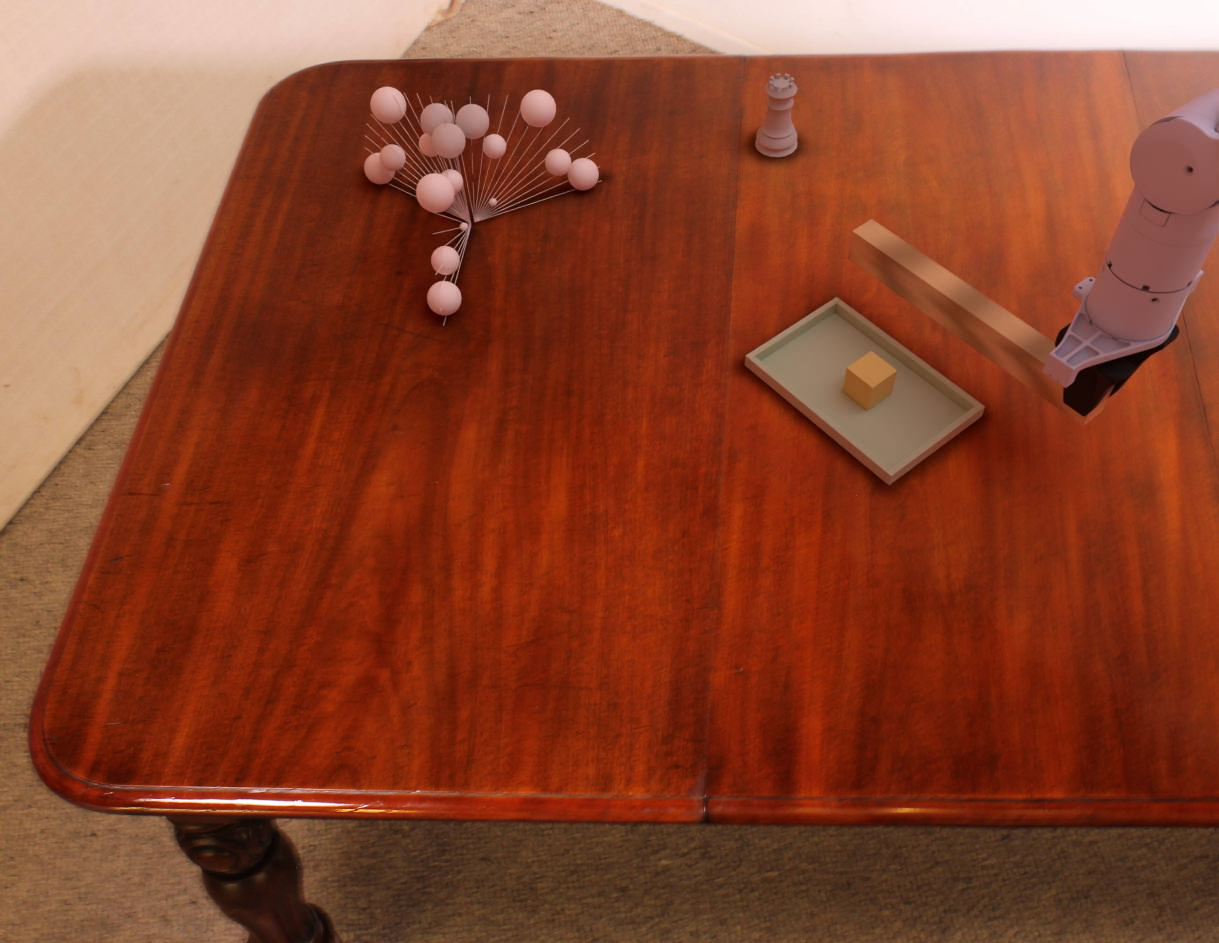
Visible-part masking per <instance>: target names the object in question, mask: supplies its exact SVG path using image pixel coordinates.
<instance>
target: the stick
mask: <svg viewBox="0 0 1219 943" xmlns="http://www.w3.org/2000/svg"><path fill="white" fill-rule="evenodd" d="M848 249H849V250H848V254H847V260H848V261H850V262H852V263H853V264H854V265H856V266H857V267H859V268H860V269H861V270H863V271H864V272H866V273H867V274H868V275H870V276H871V277H872V278H874V279H876V280H877V281H878V282H880V283H881V284H882V285H883V286H885V287H887V288H888V289H889V290H891V291H892V292H894V293H895V294H896V295H898V296H900V297H901V298H902V299H903V300H905V301H906V302H908V303H909V304H911V305H912V306H913V307H915V308H916V309H917V310H919V311H920V312H921V313H923V314H925V315H926V316H928V318H930V319H931V320H933V321H934V322H936V323H937V324H939V325H940V326H941V327H943V328H944V329H946V330H947V331H949V332H950V333H952V334H953V335H954V336H956V337H957V338H958V339H959V340H961V341H962V342H963V343H965V344H967V345H968V346H969V347H971V348H972V349H974V350H975V351H976V352H978V353H979V354H980V355H982V356H984V357H985V358H986V359H988V360H989V361H990V362H992V363H993V364H995V365H996V366H998V367H999V368H1001V369H1002V370H1003V371H1004V372H1006V373H1008V374H1009V375H1010V376H1012V377H1013V378H1014V379H1016V380H1017V381H1019V382H1020V383H1022V384H1023V385H1024V386H1025V387H1027V388H1029V389H1030V390H1031V391H1033V392H1034V393H1036V395H1038V396H1040V397H1041V398H1042V399H1044V400H1045V401H1046V402H1048V403H1049V404H1051V405H1052V406H1053V407H1055V408H1056V409H1058V410H1059V411H1060V412H1062V413H1064V414H1065V415H1066V416H1068V417H1069V418H1070V419H1072V420H1074V421H1075V422H1076V423H1078V424H1079V425H1080V426H1082V427H1084V426H1085V425H1086V424H1088V423H1090V421H1091V420H1093V419H1094V418H1095V417H1096V416H1098V415H1099V414H1101V413H1102V412H1103V410H1104V408H1105V406H1106V405H1107V402H1108V400H1109V399H1110V397H1109V396H1110V394H1111V392H1112V390H1113V388H1114V386H1115V385H1113V386H1112V387H1111V388H1110V390H1109V391H1108V392H1107V394H1106V395H1105V396H1104V398H1103V399H1102V401H1101V402H1100V403H1099V405H1098V406H1097V407H1096V408H1095V409H1094V410H1093V411H1091V412H1090V413H1089V414H1088V415H1086V416H1085V417H1084V416H1082V415H1080V414H1079V413H1077V412H1076V411H1074V410H1073V409H1072V408H1070V407H1069V406H1067V405H1066V404H1065V403H1063V386H1062V385H1060V384H1059V383H1057V382H1056V381H1054V380H1053V379H1051V378H1050V377H1049V376H1047V375H1046V374H1045V373H1043V372H1042V371H1043V368H1044V366H1045V363H1046V361H1047V359H1048V356H1049V354H1050V352H1052V351H1053V350H1054V349H1055V348H1056V347H1055V341H1053V340H1051V339H1050V338H1049V337H1047V336H1046V335H1045V334H1043V333H1041V332H1040V331H1038V330H1036V329H1035V328H1034V327H1032V326H1031V325H1029V324H1028V323H1026V322H1025V321H1023V320H1022V319H1021V318H1019V317H1018V316H1016V315H1015V314H1014V313H1012V312H1010V311H1008V310H1007V309H1005V308H1004V307H1002V306H1001V305H1000V304H998V303H997V302H995V301H994V300H993V299H991V298H989V297H988V296H987V295H985V294H984V293H982V292H980V291H979V290H977V288H975V287H973V286H972V285H970V284H969V283H967V282H965V280H963V279H961V278H960V277H958V276H957V275H956V274H954V273H953V272H951V271H950V270H948V269H947V268H945V267H943V266H942V265H941V264H939V263H938V262H936V261H934V260H933V259H932V258H930V257H929V256H927V255H926V254H925V253H923V252H921V251H920V250H918V249H917V248H916V247H914V246H913V245H911V244H909V242H907V241H905V240H904V239H903V238H901V237H899V236H898V235H896V234H895V233H893V232H892V231H890V230H889V229H888V228H886V227H885V226H883V225H881V223H878V222H877V221H875V220H874V219H873V218H871V219H869V220H867V221H866V222H864V223H862V224H861V225H858V226H857V227H856V228H854V229H852V231H851V235H850V242H849V247H848Z"/></svg>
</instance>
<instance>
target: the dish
mask: <svg viewBox="0 0 1219 943" xmlns="http://www.w3.org/2000/svg"><path fill="white" fill-rule="evenodd" d="M871 351H872V352H874V353H875V354H876V355H878V356H879V357H880V358H882V359H883V360H884V361H886V362H887V363H888V364H889V365H891V366H892V367H893V368H895V369H896V370H897V374H896V379H895V383H894V387H893V391H892V394H891V395H889V396H888V397H886V398H885V399H884V400H882V401H881V402H879V403H878V404H877V405H875V406H874V407H872V408H871V409H869V410H868V411H867V410H866V409H865V408H863V407H862V406H861V405H859V404H858V403H857V402H856V401H854V400H853V399H852V398H851V397H849V396H848V395H847V394H846V393H844V392H843V391H842V390H843V385H844V379H845V374H846V369H847V367H848V366H850V365H851V364H853V363H854V362H856V361H857V360H859V359H860V358H862V357H863V356H865V355H866V354H868V353H869V352H871ZM744 366H745V367H746V368H747V369H748V370H749V371H751V372H752V373H753V374H754V375H756V377H758V378H759V379H761V380H762V381H763V382H764V383H765V384H766V385H767V386H768V387H770V388H771V389H772V390H774V391H775V392H776V393H777V394H778V395H780V396H781V397H782V398H783V399H784V400H786V401H787V402H788V403H789V404H791V405H792V407H794V408H795V409H796V410H798V411H799V412H800V413H801V414H802V415H804V416H805V417H806V418H807V419H809V421H811V422H812V423H813V424H814V425H815V426H817V427H818V428H819V429H820V430H822V431H823V432H824V433H825V434H826V435H828V436H829V437H830V438H831V439H832V440H834V441H835V442H836V443H837V444H838V445H840V447H842V448H843V449H844V450H845V451H847V452H848V453H849V454H851V456H853V457H854V458H855V459H856V460H858V462H860V463H861V464H863V466H865V467H866V468H867V469H869V471H871V472H872V473H873V474H874V475H875V476H877V477H878V478H879V479H881V480H882V481H883V482H884V483H885V484H886V485H887V486H890V485H892V484H893V483H894V482H896V481H897V480H899V478H901V477H902V476H904V475H905V474H906V473H907V472H909V471H910V470H912V469H913V468H915V467H916V466H917V465H918V464H920V463H921V462H922V461H924V460H925V459H927V457H929V456H931V455H932V454H933V453H934V452H936V451H937V450H939V449H940V448H941V447H943V446H944V445H945V444H947V443H948V442H949V441H951V440H953V438H954V437H956V436H958V435H959V434H960V433H961V432H963V431H964V430H965V429H966V428H968V427H969V426H971V425H972V424H974V423H975V422H976V421H977V420H979V419H980V418H981V417H982V416H983V414H984V411H985V408H986V406H985V405H983V404H982V403H981V402H979V401H978V400H977V399H976V398H975V397H973V396H971V395H970V394H969V393H967V392H966V391H965V390H964V389H962V388H961V387H959V386H958V385H957V384H955V383H954V382H953V381H951V380H950V379H948V378H947V377H946V376H945V375H943V374H942V373H941V372H939V371H938V370H937V369H935V368H934V367H932V366H931V365H930V364H929V363H927V362H926V361H924V360H923V359H922V358H920V357H919V356H917V354H915V353H914V352H912V351H911V350H910V349H908V348H907V347H905V346H904V345H903V344H901V343H900V342H898V341H897V340H896V339H895V338H893V337H892V336H891V335H889V334H888V333H887V332H886V331H884V330H882V329H881V328H880V327H878V326H877V325H876V324H874V323H873V322H871V320H869V319H867V318H866V317H865V316H864V315H862V314H860V313H859V312H858V311H857V310H856V309H854V307H851V306H850V305H849V304H847V303H846V302H845V301H843V300H842V299H841V298H839V297H838V296H835V297H834V298H832V299H831V300H828V302H826V303H824V304H823V305H821V306H819V307H818V308H816V309H815V310H814V311H812V312H810V313H809V314H808V315H806V316H805V317H803V318H801V319H800V320H797V322H795V323H794V324H791V326H789V327H788V328H786V329H785V330H783V331H782V332H780V333H778V334H777V335H775V336H774V337H772V338H770V339H769V340H767V341H766V342H764V343H763V344H761V345H759V346H758V347H756V348H754V349H753V350H752V351H750V352H749V353H747V354H745V357H744Z"/></svg>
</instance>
